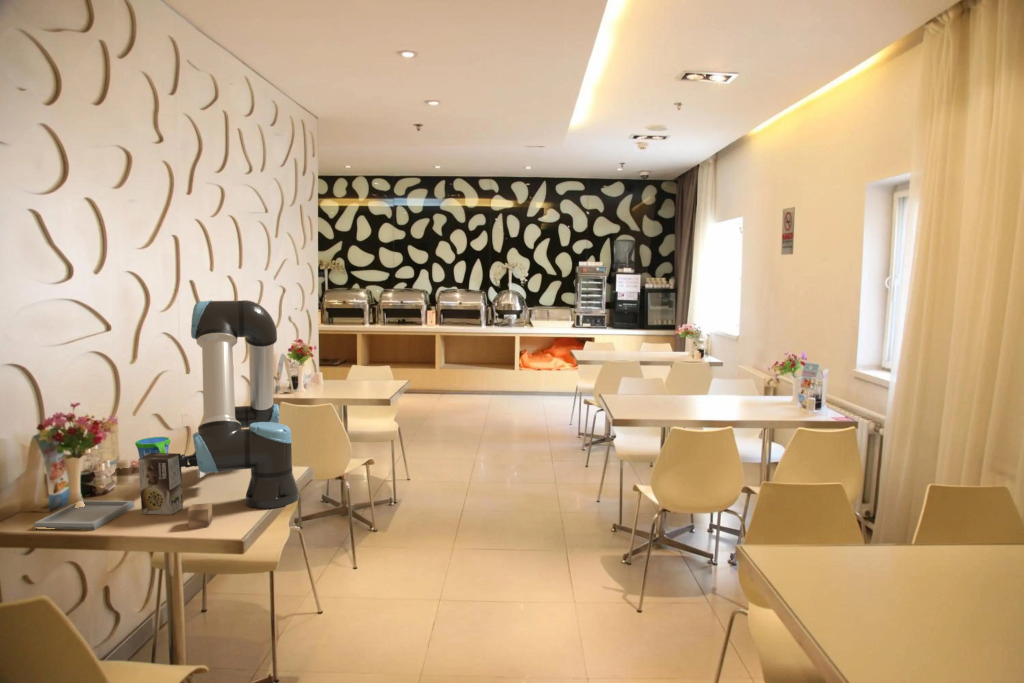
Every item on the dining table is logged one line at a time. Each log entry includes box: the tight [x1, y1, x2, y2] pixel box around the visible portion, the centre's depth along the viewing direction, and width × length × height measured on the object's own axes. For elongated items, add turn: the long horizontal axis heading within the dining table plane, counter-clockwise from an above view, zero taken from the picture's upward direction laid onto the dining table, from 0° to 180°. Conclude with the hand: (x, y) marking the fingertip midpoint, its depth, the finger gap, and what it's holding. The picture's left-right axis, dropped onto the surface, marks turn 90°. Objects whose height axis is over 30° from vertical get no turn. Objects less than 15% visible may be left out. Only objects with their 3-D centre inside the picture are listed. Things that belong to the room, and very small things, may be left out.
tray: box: [33, 499, 135, 531], centre depth 186 cm, size 16×18×2 cm
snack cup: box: [134, 436, 171, 459], centre depth 234 cm, size 16×10×10 cm
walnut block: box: [187, 502, 214, 529], centre depth 181 cm, size 5×5×5 cm
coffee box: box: [137, 452, 184, 515], centre depth 191 cm, size 9×6×16 cm
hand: (176, 473), depth 199 cm, fingers open, 13 cm apart
